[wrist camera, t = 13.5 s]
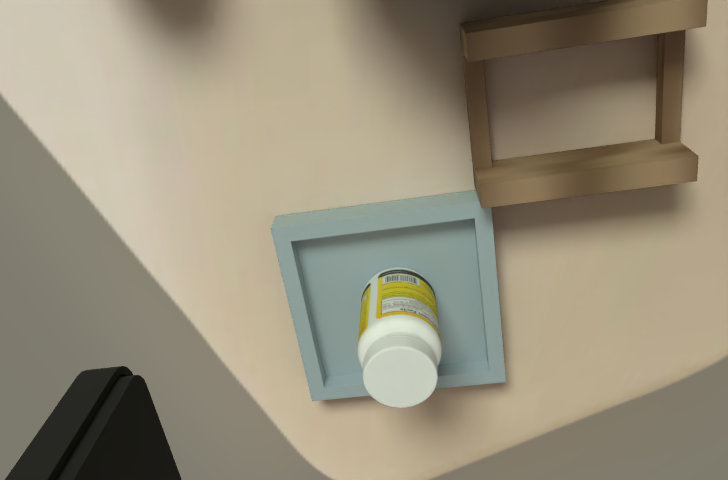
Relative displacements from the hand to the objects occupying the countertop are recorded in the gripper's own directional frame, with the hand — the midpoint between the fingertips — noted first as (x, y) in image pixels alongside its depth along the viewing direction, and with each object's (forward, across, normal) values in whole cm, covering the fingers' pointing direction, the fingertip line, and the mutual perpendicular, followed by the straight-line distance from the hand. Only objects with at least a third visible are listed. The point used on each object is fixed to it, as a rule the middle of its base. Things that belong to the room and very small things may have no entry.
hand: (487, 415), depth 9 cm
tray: (+30, +4, +16) cm, 34 cm away
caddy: (+30, -8, +4) cm, 32 cm away
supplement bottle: (+30, +3, +15) cm, 34 cm away
